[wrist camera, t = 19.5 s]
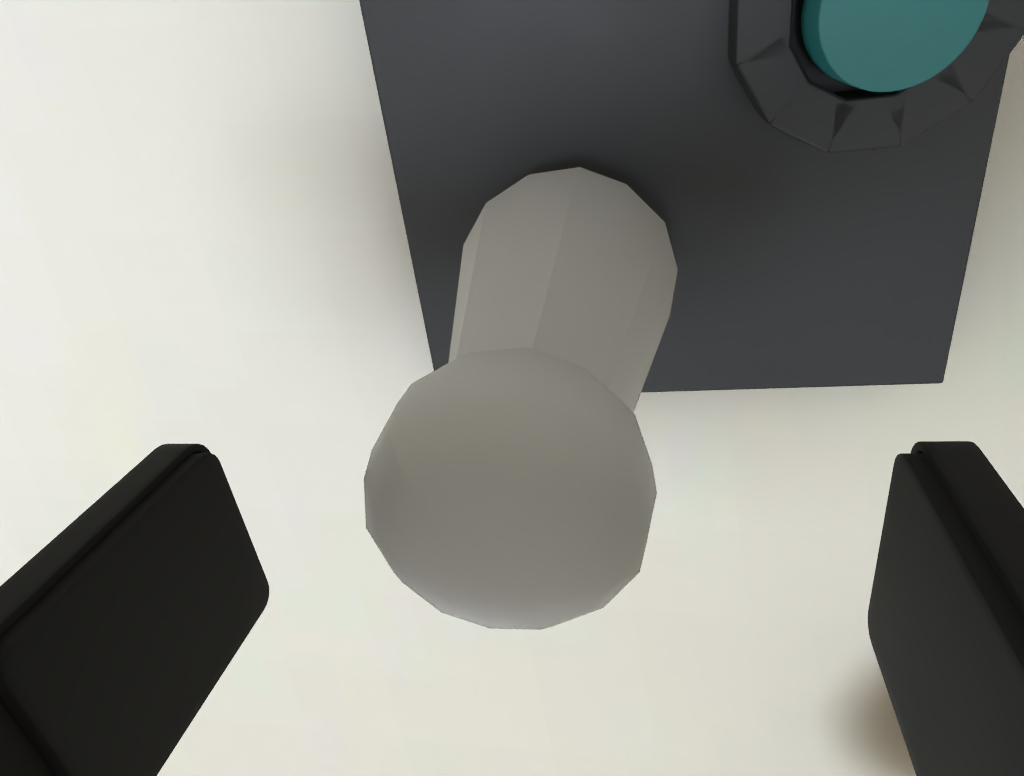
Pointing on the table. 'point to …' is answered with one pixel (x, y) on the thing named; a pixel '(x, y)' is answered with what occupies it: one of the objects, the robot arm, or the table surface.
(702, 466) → the table surface
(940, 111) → the scale
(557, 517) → the salt shaker
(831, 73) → the button
